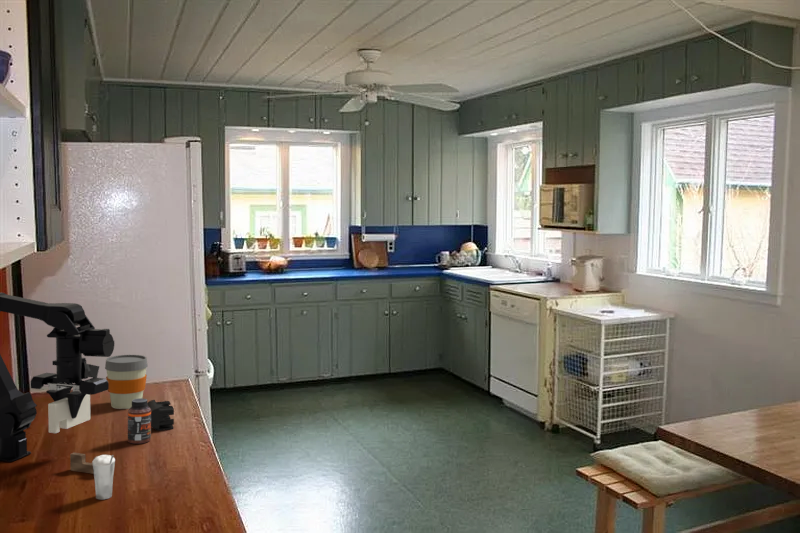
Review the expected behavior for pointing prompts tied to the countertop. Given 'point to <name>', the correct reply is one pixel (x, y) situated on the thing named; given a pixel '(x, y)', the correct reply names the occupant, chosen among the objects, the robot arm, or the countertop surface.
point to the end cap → (161, 415)
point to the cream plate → (67, 414)
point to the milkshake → (103, 476)
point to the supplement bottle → (139, 422)
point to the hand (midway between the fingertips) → (70, 417)
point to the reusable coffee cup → (126, 379)
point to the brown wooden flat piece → (80, 463)
